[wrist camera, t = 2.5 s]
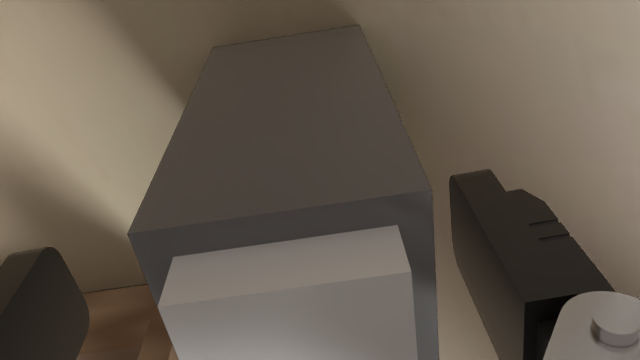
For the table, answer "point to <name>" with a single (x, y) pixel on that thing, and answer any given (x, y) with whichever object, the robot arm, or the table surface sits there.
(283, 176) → the block
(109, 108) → the table surface
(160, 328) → the walled box
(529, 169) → the table surface
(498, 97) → the table surface
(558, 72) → the table surface
